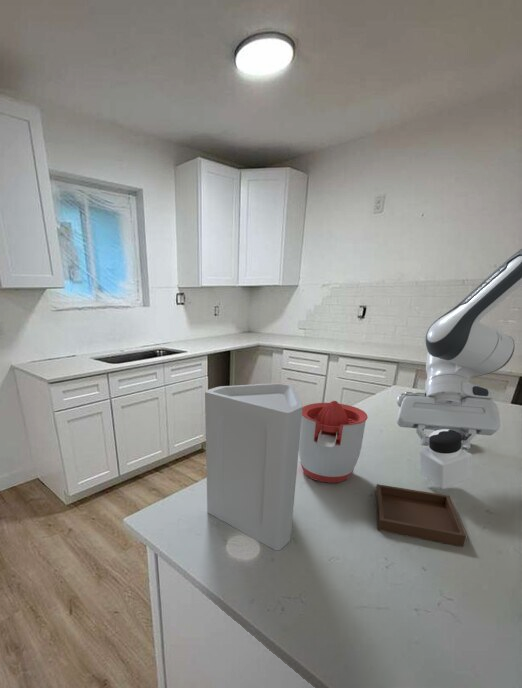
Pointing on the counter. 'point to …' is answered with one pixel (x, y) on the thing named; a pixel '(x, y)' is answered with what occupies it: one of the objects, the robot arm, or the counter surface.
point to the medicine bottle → (445, 459)
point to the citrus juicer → (330, 440)
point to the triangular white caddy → (253, 458)
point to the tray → (418, 515)
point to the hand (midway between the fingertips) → (445, 446)
